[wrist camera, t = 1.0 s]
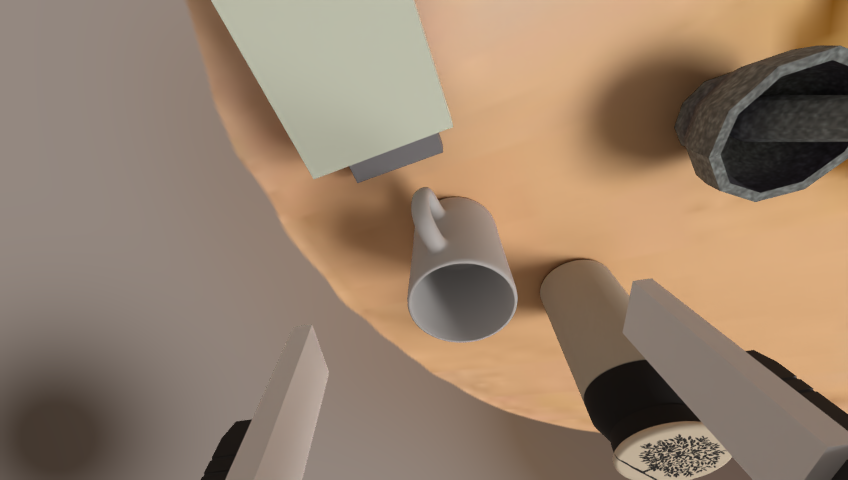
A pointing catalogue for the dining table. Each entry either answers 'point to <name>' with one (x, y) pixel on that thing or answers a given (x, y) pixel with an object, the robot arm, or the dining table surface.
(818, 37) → the dining table surface
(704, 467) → the travel mug
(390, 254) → the dining table surface
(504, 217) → the dining table surface
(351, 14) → the lid
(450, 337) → the mug
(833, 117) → the mortar and pestle
